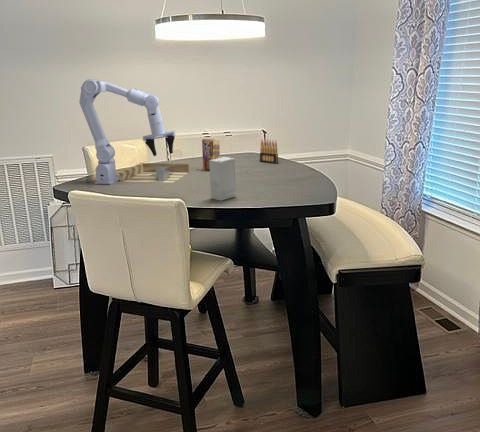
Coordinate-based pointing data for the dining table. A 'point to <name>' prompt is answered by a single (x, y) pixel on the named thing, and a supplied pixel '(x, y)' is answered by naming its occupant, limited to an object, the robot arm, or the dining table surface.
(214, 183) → the skincare box
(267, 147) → the ammunition clip
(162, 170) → the bracket
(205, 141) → the candy box
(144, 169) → the arena
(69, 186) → the dining table surface
